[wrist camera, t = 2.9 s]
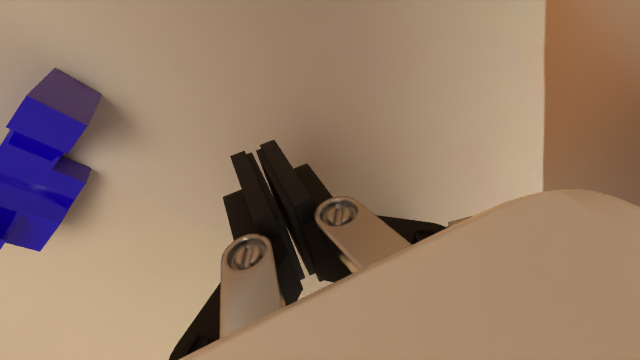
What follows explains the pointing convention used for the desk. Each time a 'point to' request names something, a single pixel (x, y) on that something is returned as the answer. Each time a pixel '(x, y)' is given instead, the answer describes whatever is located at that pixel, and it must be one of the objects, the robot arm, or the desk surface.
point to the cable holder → (43, 160)
